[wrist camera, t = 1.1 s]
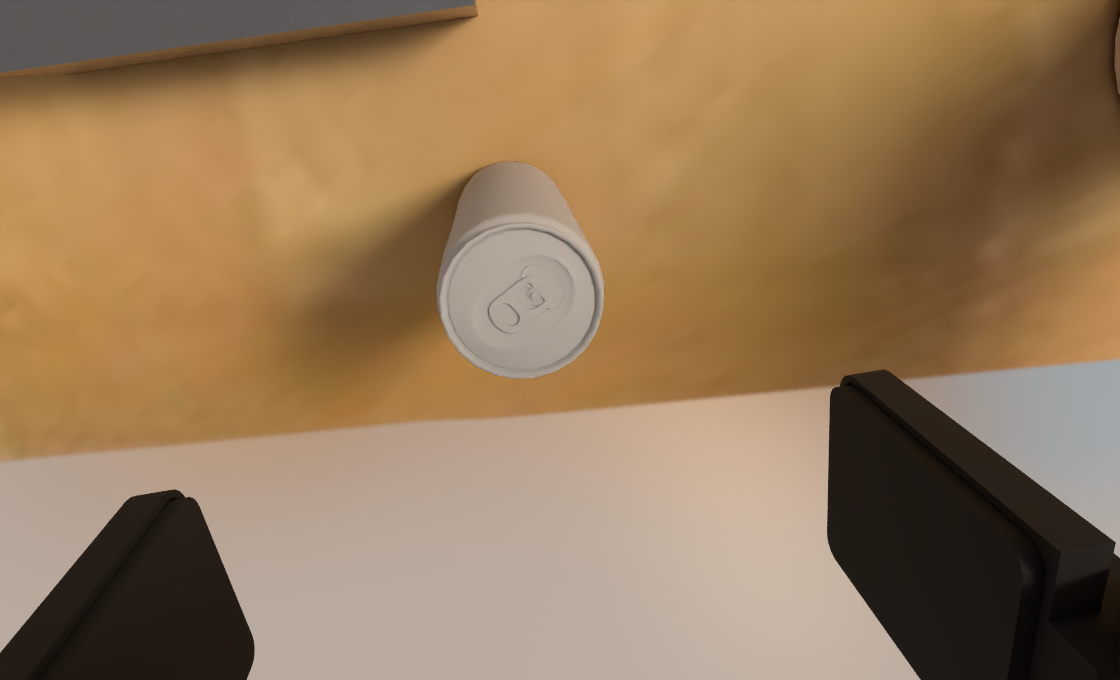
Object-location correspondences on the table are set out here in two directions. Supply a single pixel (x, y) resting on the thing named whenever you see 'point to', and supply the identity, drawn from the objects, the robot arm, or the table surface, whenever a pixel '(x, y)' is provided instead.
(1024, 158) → the table surface
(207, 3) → the socket block
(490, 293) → the beverage can
